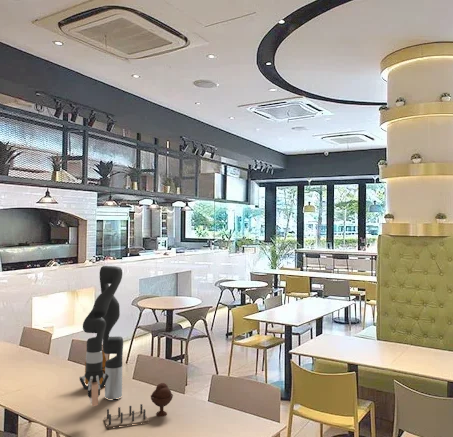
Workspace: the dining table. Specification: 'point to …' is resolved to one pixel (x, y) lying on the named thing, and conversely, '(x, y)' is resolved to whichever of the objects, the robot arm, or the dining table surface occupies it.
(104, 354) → the coffee package
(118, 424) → the dish rack
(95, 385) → the peach chamfered block
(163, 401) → the ice cream bowl
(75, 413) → the dining table surface
